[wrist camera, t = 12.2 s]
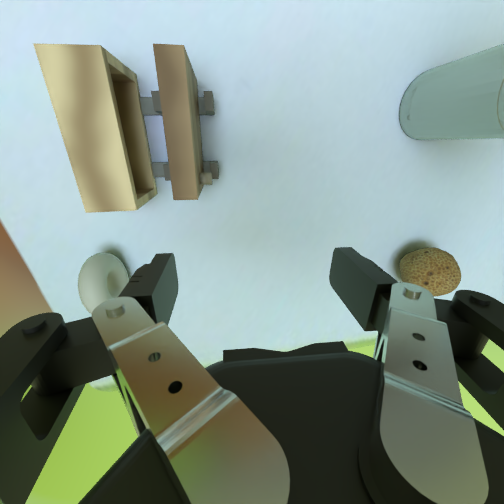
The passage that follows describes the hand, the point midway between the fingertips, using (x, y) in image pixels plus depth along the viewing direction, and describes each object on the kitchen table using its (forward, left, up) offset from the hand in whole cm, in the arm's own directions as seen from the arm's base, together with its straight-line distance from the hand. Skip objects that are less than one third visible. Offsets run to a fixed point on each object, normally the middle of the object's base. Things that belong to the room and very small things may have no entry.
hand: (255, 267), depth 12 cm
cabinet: (+9, -6, -28) cm, 30 cm away
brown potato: (-34, +16, -28) cm, 47 cm away
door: (+5, -7, -28) cm, 29 cm away
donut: (+20, +14, -28) cm, 37 cm away
